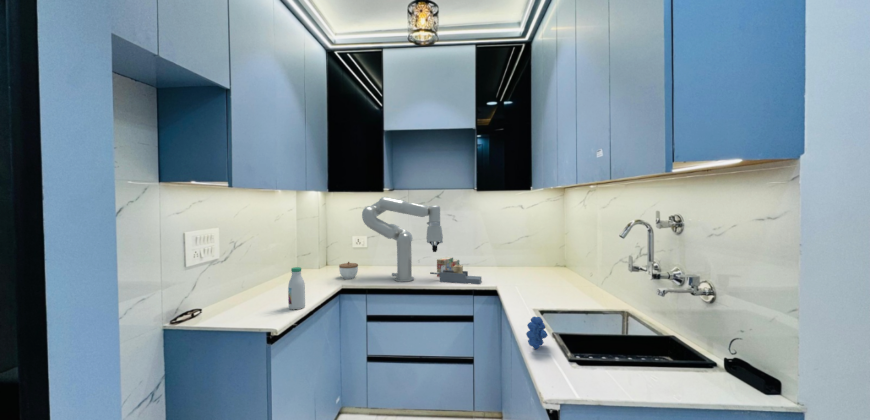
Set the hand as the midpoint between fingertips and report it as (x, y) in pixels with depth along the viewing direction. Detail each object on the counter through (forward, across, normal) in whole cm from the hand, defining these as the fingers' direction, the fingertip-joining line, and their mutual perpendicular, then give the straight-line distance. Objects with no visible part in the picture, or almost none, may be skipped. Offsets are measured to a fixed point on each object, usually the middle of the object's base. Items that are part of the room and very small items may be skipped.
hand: (434, 251), depth 234 cm
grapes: (+19, +64, -94) cm, 116 cm away
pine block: (+16, +16, 0) cm, 22 cm away
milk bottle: (+19, -51, -75) cm, 92 cm away
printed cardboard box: (+19, +5, +19) cm, 28 cm away
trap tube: (+19, +17, 0) cm, 26 cm away
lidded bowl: (+19, -59, -9) cm, 62 cm away
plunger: (+15, +2, 0) cm, 15 cm away
